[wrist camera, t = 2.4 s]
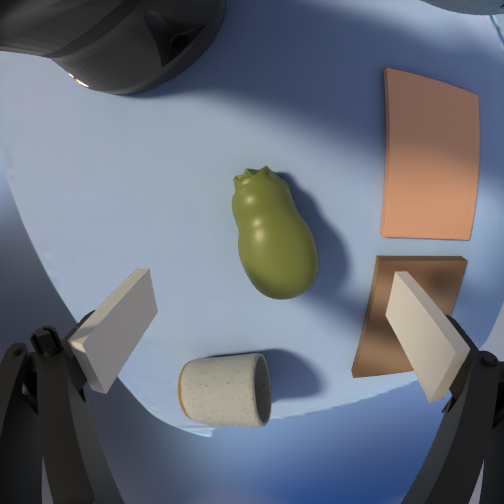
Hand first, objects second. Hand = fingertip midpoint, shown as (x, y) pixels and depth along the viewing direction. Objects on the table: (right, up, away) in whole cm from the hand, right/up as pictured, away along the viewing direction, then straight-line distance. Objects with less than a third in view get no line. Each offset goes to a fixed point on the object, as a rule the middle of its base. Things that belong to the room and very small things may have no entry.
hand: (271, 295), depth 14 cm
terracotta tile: (+15, +10, +5) cm, 18 cm away
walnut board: (+15, -5, +11) cm, 19 cm away
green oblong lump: (+1, +5, +9) cm, 10 cm away
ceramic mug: (-3, -11, +15) cm, 19 cm away
